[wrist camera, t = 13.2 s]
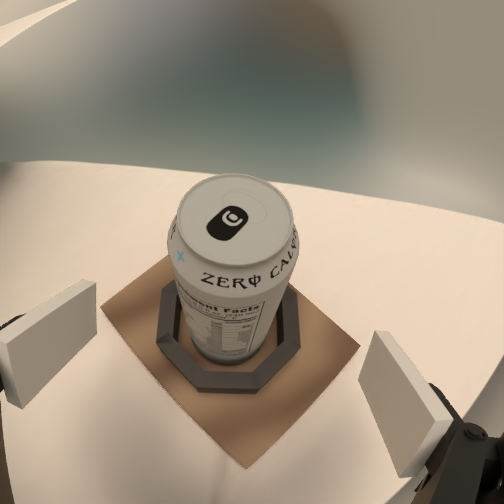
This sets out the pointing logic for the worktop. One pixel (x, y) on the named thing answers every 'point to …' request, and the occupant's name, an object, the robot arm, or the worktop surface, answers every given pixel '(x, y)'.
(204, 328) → the energy drink can
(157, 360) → the wooden can holder
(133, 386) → the worktop surface
